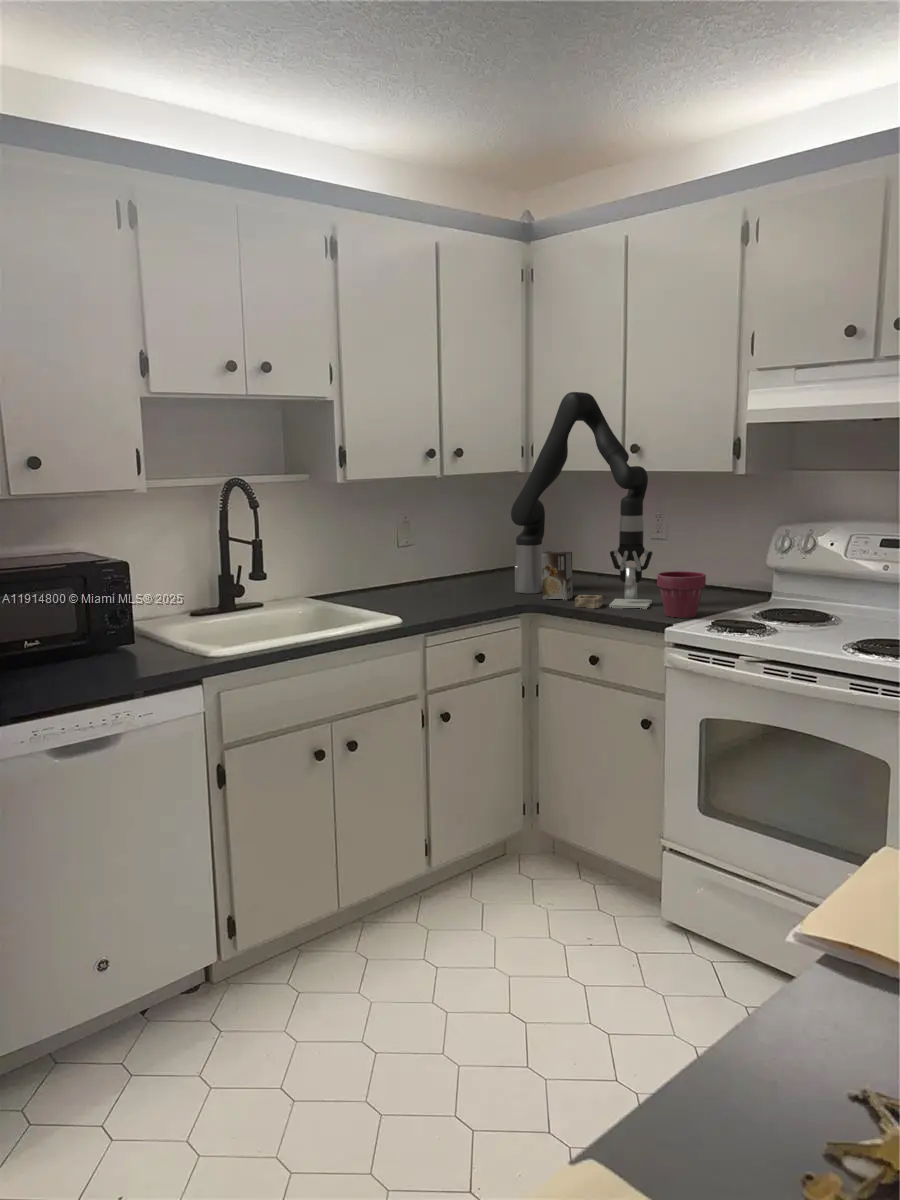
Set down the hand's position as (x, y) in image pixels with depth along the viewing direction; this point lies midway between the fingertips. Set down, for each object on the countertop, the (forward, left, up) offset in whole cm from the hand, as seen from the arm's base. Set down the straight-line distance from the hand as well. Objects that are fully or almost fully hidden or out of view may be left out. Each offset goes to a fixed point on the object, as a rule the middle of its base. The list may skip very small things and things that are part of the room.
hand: (630, 582), depth 287 cm
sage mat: (0, 0, -8) cm, 8 cm away
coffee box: (-26, +8, -8) cm, 28 cm away
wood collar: (-13, -4, -8) cm, 16 cm away
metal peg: (0, 0, -5) cm, 5 cm away
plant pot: (+17, -14, -8) cm, 23 cm away
